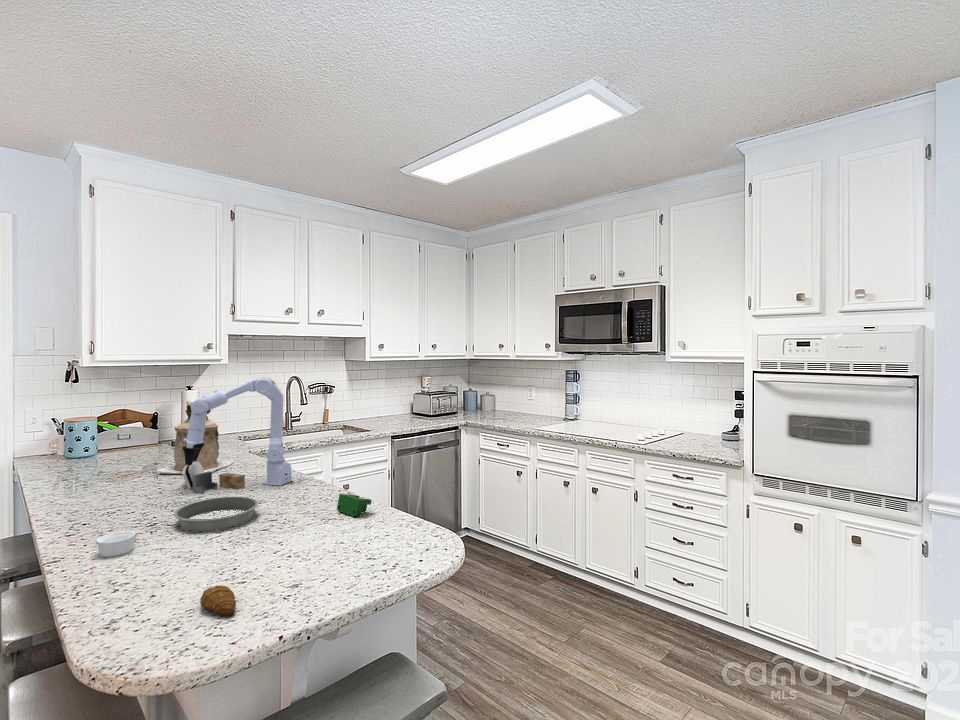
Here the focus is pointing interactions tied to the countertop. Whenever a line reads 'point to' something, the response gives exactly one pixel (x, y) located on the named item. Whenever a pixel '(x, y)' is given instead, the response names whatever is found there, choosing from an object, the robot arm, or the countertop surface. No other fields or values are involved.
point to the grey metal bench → (203, 482)
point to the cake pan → (216, 505)
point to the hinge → (191, 473)
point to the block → (232, 480)
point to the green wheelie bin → (352, 504)
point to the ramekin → (116, 543)
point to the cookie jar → (207, 452)
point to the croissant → (219, 600)
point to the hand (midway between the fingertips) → (191, 462)
